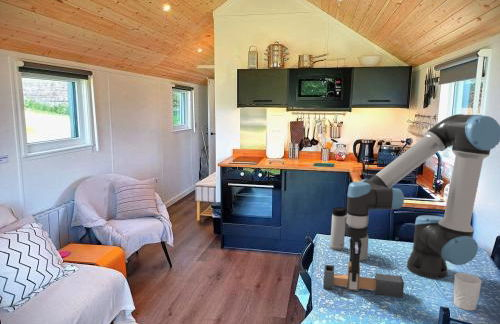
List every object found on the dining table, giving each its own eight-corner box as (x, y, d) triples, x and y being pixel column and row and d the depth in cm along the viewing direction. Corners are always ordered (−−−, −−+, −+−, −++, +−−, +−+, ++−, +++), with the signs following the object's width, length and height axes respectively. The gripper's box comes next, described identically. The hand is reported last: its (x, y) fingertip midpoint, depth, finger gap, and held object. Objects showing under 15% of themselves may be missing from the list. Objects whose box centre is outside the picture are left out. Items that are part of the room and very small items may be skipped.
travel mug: (344, 251, 167) (347, 210, 164) (330, 250, 168) (332, 209, 165) (344, 246, 173) (346, 206, 170) (330, 245, 174) (332, 205, 171)
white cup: (478, 314, 118) (481, 286, 116) (450, 307, 122) (453, 279, 120) (478, 303, 124) (481, 276, 123) (452, 297, 128) (455, 270, 127)
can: (369, 257, 161) (370, 231, 159) (364, 263, 155) (366, 236, 153) (352, 253, 165) (354, 228, 163) (347, 259, 159) (349, 233, 157)
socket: (333, 282, 137) (334, 265, 136) (333, 289, 132) (334, 272, 130) (323, 281, 138) (324, 264, 137) (323, 288, 132) (324, 271, 131)
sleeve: (400, 291, 132) (401, 276, 131) (402, 298, 127) (404, 282, 126) (374, 287, 134) (375, 273, 133) (375, 294, 129) (377, 279, 128)
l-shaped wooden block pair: (382, 288, 132) (384, 265, 131) (384, 294, 129) (386, 270, 127) (331, 282, 136) (333, 259, 135) (331, 287, 133) (333, 264, 131)
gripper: (345, 217, 138) (341, 274, 142) (346, 231, 122) (342, 296, 125) (365, 218, 137) (361, 276, 140) (370, 234, 120) (365, 298, 124)
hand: (352, 285), depth 133 cm, fingers closed on l-shaped wooden block pair, 4 cm apart
